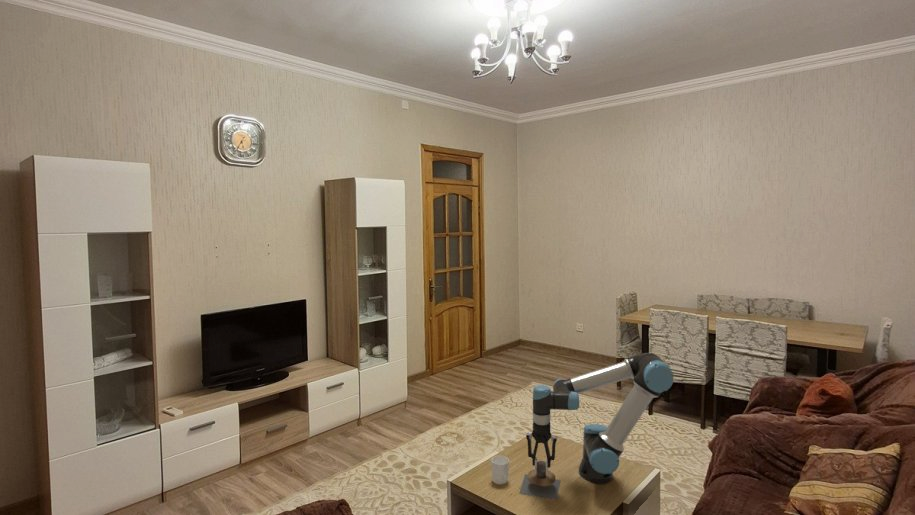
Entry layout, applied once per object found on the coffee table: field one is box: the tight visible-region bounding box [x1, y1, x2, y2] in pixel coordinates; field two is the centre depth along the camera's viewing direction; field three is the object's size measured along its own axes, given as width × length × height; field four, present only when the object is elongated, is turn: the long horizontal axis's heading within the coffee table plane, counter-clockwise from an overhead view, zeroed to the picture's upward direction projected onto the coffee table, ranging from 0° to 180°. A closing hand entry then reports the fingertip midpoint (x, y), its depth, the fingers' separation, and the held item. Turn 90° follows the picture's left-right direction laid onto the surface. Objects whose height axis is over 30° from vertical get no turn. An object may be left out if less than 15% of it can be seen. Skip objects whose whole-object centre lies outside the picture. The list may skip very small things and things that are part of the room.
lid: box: [527, 460, 556, 487], centre depth 215 cm, size 12×12×7 cm
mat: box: [518, 474, 561, 501], centre depth 216 cm, size 16×16×1 cm
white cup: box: [491, 455, 510, 485], centre depth 220 cm, size 8×8×10 cm
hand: (541, 473), depth 215 cm, fingers closed on lid, 4 cm apart
